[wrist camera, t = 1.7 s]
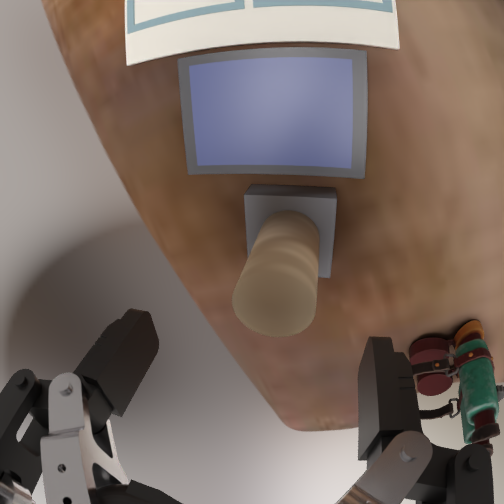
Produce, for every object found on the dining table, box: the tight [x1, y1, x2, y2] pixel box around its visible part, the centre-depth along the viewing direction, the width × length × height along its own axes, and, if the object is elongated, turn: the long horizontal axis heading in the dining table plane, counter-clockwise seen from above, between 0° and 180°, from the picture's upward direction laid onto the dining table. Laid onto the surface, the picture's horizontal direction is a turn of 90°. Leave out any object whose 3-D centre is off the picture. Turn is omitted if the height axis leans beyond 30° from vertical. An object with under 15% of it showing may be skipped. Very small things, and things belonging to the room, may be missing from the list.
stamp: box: [232, 184, 337, 337], centre depth 15 cm, size 5×5×8 cm
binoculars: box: [410, 320, 504, 457], centre depth 17 cm, size 9×11×10 cm
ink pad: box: [178, 47, 368, 179], centre depth 15 cm, size 10×7×2 cm
